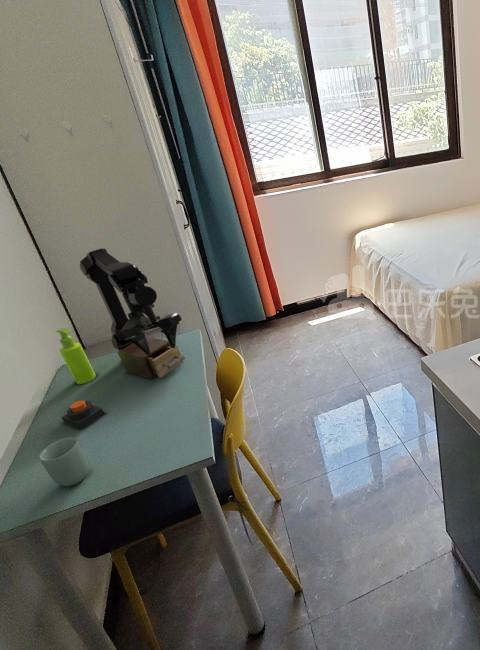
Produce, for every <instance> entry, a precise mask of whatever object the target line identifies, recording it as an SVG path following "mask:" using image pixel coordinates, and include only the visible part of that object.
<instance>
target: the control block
mask: <svg viewBox="0 0 480 650" xmlns="http://www.w3.org/2000/svg"><path fill="white" fill-rule="evenodd" d="M83 401H84V402H85V403H86V405H87V407H86V408H85V409H83V410H81V411H79V412H75V413H74V412H73V411H72V410H71V408H70V407H69V408H68V409H67V410H66V413H65V414H64V415H62V416H61V417H60V418H61V419H62V421H63V423H64V424H66V425H69V426H72V427H75V428H78V429H80V430H83V429H85V428H86V427H88V426H89V425H91V424H93V422H95V421H97V420H98V419H99V418H101V417H103V416H104V415H105V414H106V413H105V411H104V409H103V407H100V406H97V405H94V403H93V402H92V401H90V400H83Z"/></svg>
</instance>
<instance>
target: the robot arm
mask: <svg viewBox="0 0 480 650" xmlns="http://www.w3.org/2000/svg"><path fill="white" fill-rule="evenodd" d="M79 269H80V271H81V273H82V274H83V275H84V276H85V277H86V279H88V280H89V281H90V282H92V283H93V284H95V286H96V288H97V290H98V293H99V294H100V297H101V298H102V301H103V303H104V306H105V308H106V311H107V313H108V314H109V316H110V319H111V321H112V322H111V326H110V332H111V334H112V335H111V344H112V346H113V348H114V349H116V350H118V351H120V350H122V349H123V348H125V347H127V346H129V345H130V344H132V343H134V344H135V345H137V346H138V347H139V348H140V349H141V350H142V351H143V352H145V353H146V354H147V355H149V354H150V349H149V346H148V343H147V340H146V337H147V336H146V334H145V331H148V330H152V329H156V328H160V333H162V334H164V335H165V337H166V339H167V341H169V343H170V345H171V347H172V348H175V346H177V329H178V325H179V324H180V322H181V321H182V317H181V315H180V314H179V313H177V312H174V313H169V314H166V315H165V316H163V317H162V318H161V316H160V315H156V313H155V311H154V308H155V303H156V301H157V298H158V293H157V291H156V290H155V289H154V288H153V287H151V286H147V285H146V284H149V281H148V277H147V276H146V275H145V274H144V272H143V271H142V270H141V269H140V268H138V266H137V265H134V264H132V263H130V262H127V261H124V262H121V261H119V260H118V259H117V258H116V257H114V256H113V255H112V254H110V253H109V252H108V250H107V249H106V248H98V249H95V250H91V251H88V252H87V253H86V255H85V257H84V258H82V259H81V260H80V261H79ZM117 292H119V293H121V296H122V298H123V300H124V302H125V304H126V306H127V308H128V310H129V313H127V314H126V311H125V309H124V307H123V305H122V302H121V300H120V298H119V296H118V293H117Z"/></svg>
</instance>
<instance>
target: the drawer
mask: <svg viewBox="0 0 480 650" xmlns="http://www.w3.org/2000/svg"><path fill="white" fill-rule="evenodd" d="M185 359H186V357H185V356H184V355H182V354H181V351H180V349H179V346H178V345H175V348H171V347H170V346H165V347H164V348H162V349H160V350H159V351H157V352H156V353H154V354H152V355H151V356H149V357H147V358H146V360H147V362H148V365H149V367H150V369H151V372H152V374H157V377H158V378H159V379H160V378H161V379H162V378H163V377H165V376H166V375H167V374H169V373H171V372H172V371H174V370H175V369H176V368H178V367H180V366H181V365H182V364H184V360H185Z"/></svg>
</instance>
